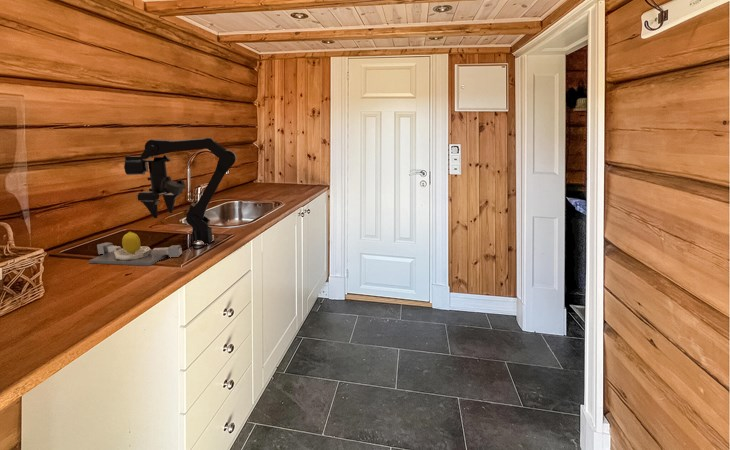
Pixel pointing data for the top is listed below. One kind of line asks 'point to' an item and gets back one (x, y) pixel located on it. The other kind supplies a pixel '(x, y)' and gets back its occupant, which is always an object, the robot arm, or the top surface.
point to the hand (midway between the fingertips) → (163, 215)
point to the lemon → (131, 242)
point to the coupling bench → (127, 262)
